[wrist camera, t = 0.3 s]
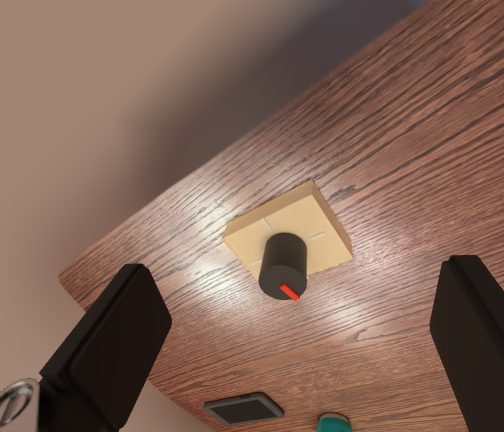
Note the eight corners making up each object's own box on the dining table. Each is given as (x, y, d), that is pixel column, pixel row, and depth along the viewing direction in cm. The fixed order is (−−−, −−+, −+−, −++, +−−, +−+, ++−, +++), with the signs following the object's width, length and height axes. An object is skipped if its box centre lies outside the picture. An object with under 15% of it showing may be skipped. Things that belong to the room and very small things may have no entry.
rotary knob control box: (311, 177, 27) (311, 194, 24) (351, 240, 30) (354, 261, 27) (227, 221, 31) (219, 239, 29) (269, 272, 34) (266, 293, 32)
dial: (256, 246, 28) (247, 282, 24) (287, 225, 26) (283, 260, 22) (284, 271, 30) (280, 309, 26) (315, 252, 28) (316, 290, 24)
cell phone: (202, 403, 55) (201, 407, 54) (262, 391, 49) (261, 396, 48) (226, 422, 58) (225, 426, 57) (286, 412, 52) (285, 417, 51)
